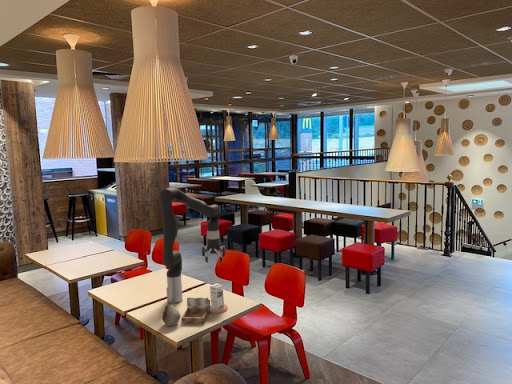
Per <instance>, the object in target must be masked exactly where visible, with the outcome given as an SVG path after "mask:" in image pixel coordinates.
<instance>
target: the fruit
mask: <svg viewBox="0 0 512 384" xmlns="http://www.w3.org/2000/svg"><path fill="white" fill-rule="evenodd" d="M161 317H162V318H161V319H162V322H163V323H164V325H165V326H168V327H171V326H172V327H173V326H175V325H177V324H178V323H179V322H180V319H181V313H180V311H179V310H177V309H176V308H175V306H174V305H172V304H171V303H170V302H168V304H167V305H166V306H165V308H164V310H163V312H162V316H161Z"/></svg>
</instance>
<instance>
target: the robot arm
mask: <svg viewBox="0 0 512 384" xmlns="http://www.w3.org/2000/svg"><path fill="white" fill-rule="evenodd" d="M159 196H160V202H161V203H160V205H161V213H162V214H161V215H162V230H163V231H162V232H163V234H162V235H163V249H162V261H163V265H164V266H165V267H167V268H169V269H168V270H167V271H166V284H167V287H166V299H167V303H170V304H177V303H180V302H182V301H183V284H182V270H183V265H182V264H183V258H182V254H181V252H180V251H179V250H174V244H175V241H176V238H177V236H178V233H179V232H178V231H179V228H178V227H179V224H178V220H177V217H176V216H175V213H174V211H173V202H179V203H183V204H184V205H185V206H187V208H189V209H191V210H193V211H195V212H199V213H200V214H202V215H203V216H205V217H206V218H209V220H208V221H207V223H206V225H207V226H206V228H207V230H206V238H207V239H206V241H207V245H203V246H202V248H201V250H202V251H201V256H202V257H204V258H205V260H204V261H205V262H206V263H209V255H210V254H217V255H218V256H219V264H221V263H222V262H223V257H225V256H226V246H225V245H222V246H221V245H220V244H221V243H220V229H219V228H220V227H219V226H220V224H219V221H220V218H221V209H220V206H219V205H218V204H211V205H209V204H208V205H207V203H206V202H205V201H203V200H200V199H199V198H198V199H197V198H196V197H193V196H191V195H188V194H186V193H184V192H183V191H181V190H180V189H177V188H176V187H172V186H171V187H165V188H163V189H162V190H161V191H160V194H159ZM220 249H221V250H220ZM206 250H207V253H206ZM221 251H222V252H221Z"/></svg>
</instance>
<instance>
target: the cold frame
mask: <svg viewBox="0 0 512 384" xmlns="http://www.w3.org/2000/svg"><path fill="white" fill-rule="evenodd" d="M186 306H187V307H186V310H185V311H184V313H183V315H181V317H180V319H181V324H182V325H185V324H186V325H192V324H193V325H204V324H205V323H206V320H207V318H208V316H209V315H211V314H212V313H211V309H210V306H211V298H210V299H209V297H208V296H207V297H201V296H200V297H196V296H194V297H192V296H191V297H190V296H189V297H187V296H186ZM189 315H202V316H200V317H199V316H198V317H197V316H196V317H195V316H191V317H190V316H189Z"/></svg>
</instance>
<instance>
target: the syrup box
mask: <svg viewBox="0 0 512 384" xmlns="http://www.w3.org/2000/svg"><path fill="white" fill-rule="evenodd" d="M223 286H224V285H223V284H220V283H217V282H216V283H215V284H213V285H210V286H209V291H210V292H209V293H210V294H209V295H210V306H211V308H213V309H215V310H219V309H221V308H223V307H224V304H225V303H224V302H225V301H224V288H223Z"/></svg>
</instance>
